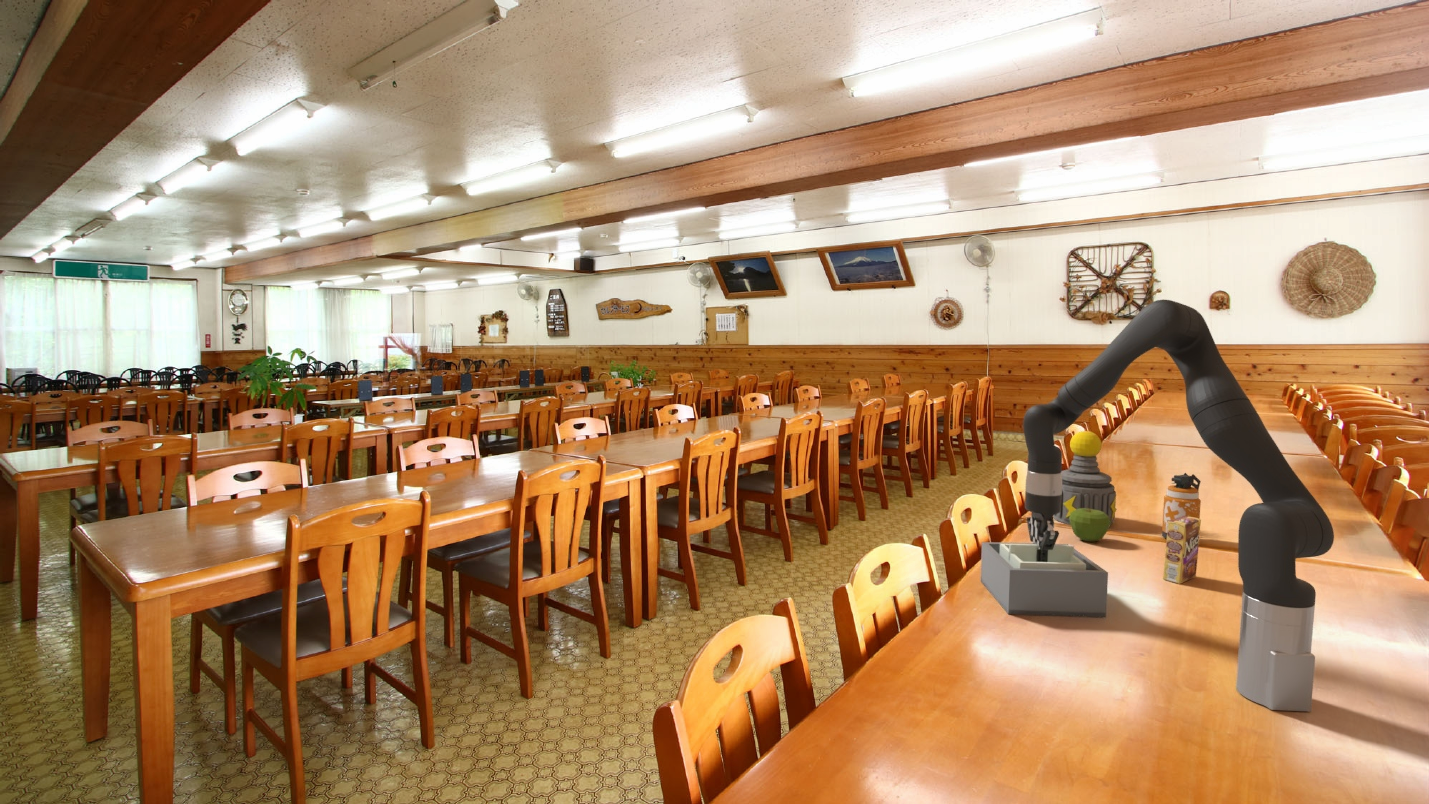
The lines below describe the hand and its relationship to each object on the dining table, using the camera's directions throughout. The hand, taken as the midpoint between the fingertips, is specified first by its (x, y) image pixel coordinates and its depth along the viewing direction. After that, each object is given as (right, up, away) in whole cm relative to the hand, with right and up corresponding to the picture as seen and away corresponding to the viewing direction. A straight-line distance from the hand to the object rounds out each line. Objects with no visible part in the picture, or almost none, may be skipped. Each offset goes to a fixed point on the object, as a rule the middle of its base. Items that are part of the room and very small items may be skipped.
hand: (1040, 564), depth 157 cm
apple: (+36, -4, +45) cm, 58 cm away
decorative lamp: (+46, -2, +67) cm, 82 cm away
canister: (+64, -4, +46) cm, 79 cm away
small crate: (0, -4, 0) cm, 5 cm away
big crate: (0, -8, +1) cm, 8 cm away
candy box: (+41, -7, +13) cm, 44 cm away
